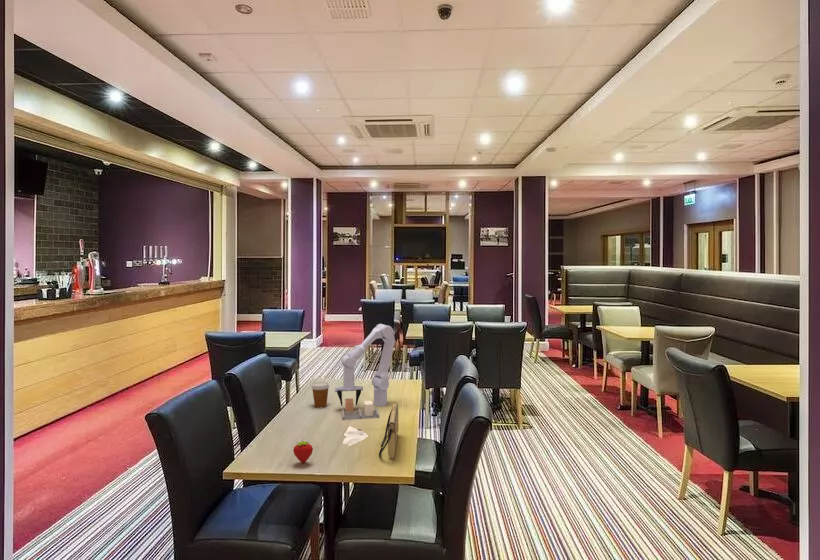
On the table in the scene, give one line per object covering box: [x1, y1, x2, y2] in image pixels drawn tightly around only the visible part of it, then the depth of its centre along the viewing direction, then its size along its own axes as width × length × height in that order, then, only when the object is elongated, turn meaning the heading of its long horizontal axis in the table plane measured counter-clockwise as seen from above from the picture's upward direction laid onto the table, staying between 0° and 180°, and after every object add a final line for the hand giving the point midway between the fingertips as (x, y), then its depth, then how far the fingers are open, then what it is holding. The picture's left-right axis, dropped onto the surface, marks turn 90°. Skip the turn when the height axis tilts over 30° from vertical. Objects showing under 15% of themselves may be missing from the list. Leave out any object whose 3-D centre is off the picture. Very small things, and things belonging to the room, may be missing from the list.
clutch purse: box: [378, 401, 399, 460], centre depth 194 cm, size 30×7×15 cm, turn 179°
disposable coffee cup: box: [311, 381, 330, 409], centre depth 250 cm, size 10×10×12 cm
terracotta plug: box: [344, 398, 354, 412], centre depth 241 cm, size 6×4×6 cm, turn 10°
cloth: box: [342, 425, 369, 448], centre depth 207 cm, size 26×14×2 cm, turn 170°
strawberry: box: [293, 438, 314, 464], centre depth 179 cm, size 6×8×10 cm
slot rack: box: [341, 406, 380, 421], centre depth 232 cm, size 12×18×2 cm, turn 100°
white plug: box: [363, 400, 374, 417], centre depth 233 cm, size 6×4×6 cm, turn 10°
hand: (349, 404), depth 241 cm, fingers open, 7 cm apart
